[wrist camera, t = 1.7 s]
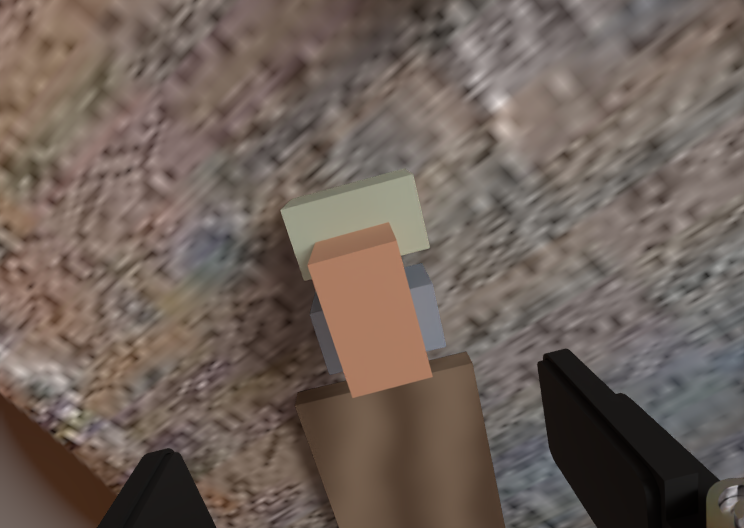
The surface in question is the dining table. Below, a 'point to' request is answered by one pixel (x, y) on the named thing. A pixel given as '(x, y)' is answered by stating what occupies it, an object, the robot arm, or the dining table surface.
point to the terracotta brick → (369, 309)
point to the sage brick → (357, 214)
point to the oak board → (405, 451)
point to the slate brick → (423, 307)
